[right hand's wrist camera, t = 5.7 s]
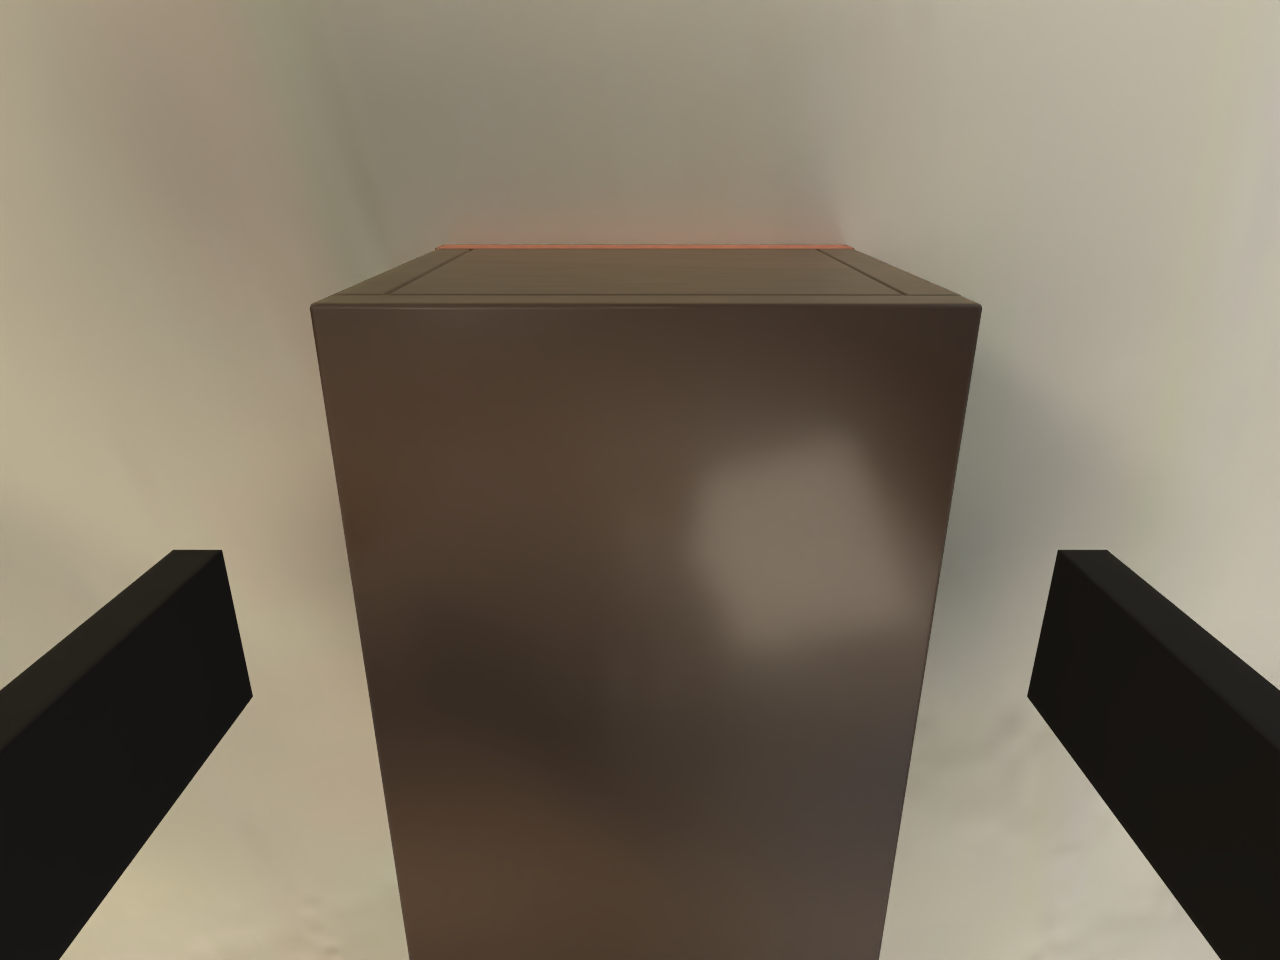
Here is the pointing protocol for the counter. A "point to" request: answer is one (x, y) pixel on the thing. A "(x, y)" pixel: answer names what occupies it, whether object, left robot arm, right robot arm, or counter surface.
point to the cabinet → (645, 586)
